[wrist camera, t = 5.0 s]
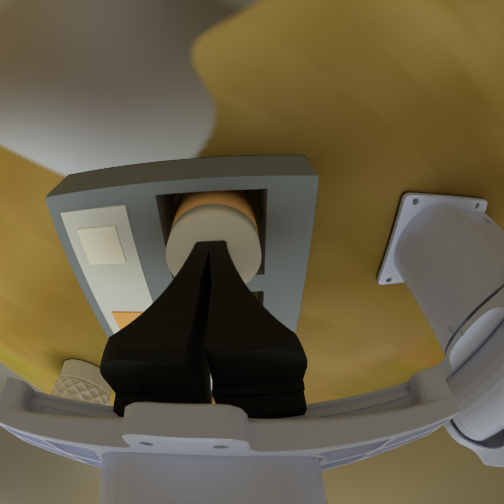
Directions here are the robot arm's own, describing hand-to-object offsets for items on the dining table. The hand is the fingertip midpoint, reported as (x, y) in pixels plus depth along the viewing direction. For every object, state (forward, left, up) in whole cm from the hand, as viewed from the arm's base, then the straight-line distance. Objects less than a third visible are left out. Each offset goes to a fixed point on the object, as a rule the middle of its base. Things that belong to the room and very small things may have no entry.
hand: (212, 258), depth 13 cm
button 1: (0, 0, -4) cm, 4 cm away
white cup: (+18, +21, -5) cm, 28 cm away
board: (+2, +10, -5) cm, 11 cm away
